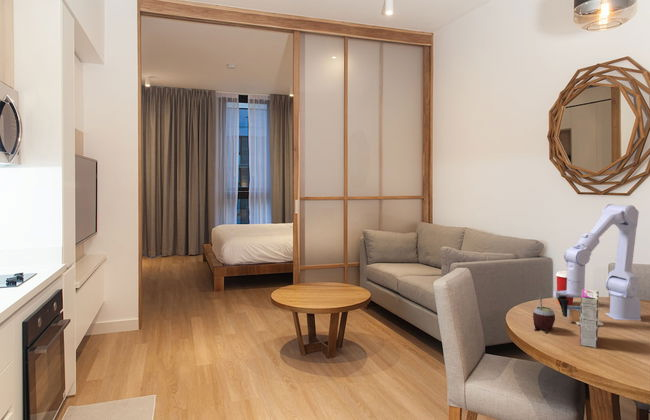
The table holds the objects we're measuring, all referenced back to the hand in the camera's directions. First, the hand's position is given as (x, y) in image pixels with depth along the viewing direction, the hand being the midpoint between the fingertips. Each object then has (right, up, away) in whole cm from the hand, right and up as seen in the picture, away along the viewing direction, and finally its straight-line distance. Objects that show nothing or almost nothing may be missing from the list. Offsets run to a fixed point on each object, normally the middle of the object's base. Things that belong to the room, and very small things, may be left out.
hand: (574, 316), depth 163 cm
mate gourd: (-15, -4, -7) cm, 17 cm away
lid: (+4, -2, 0) cm, 5 cm away
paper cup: (+10, -1, +24) cm, 26 cm away
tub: (+6, -2, +10) cm, 11 cm away
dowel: (+6, -2, +10) cm, 12 cm away
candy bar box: (-5, -4, -17) cm, 19 cm away
